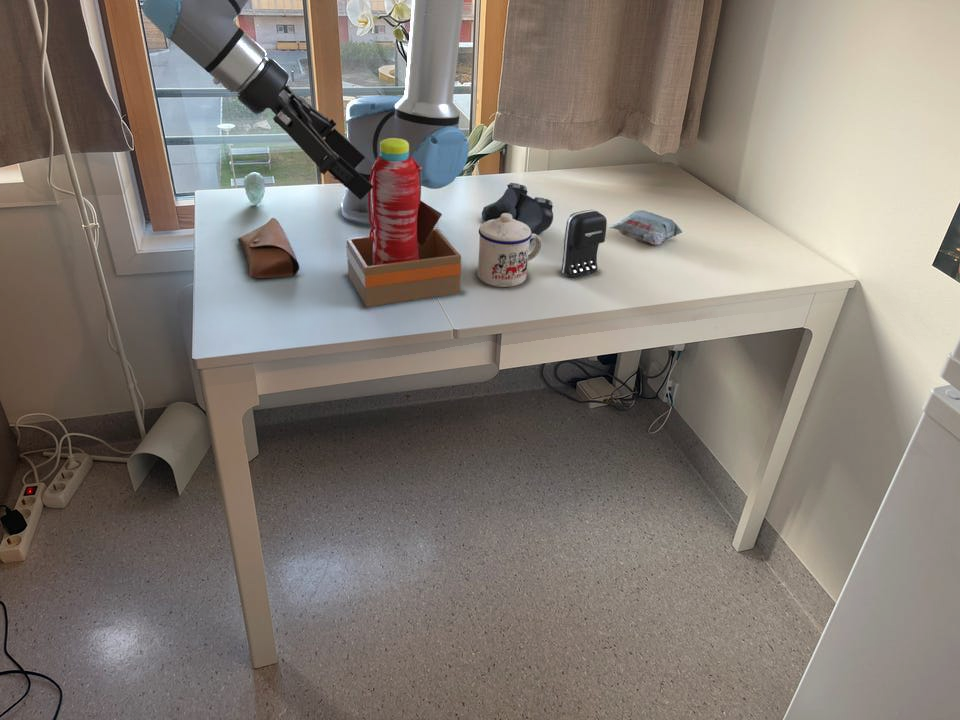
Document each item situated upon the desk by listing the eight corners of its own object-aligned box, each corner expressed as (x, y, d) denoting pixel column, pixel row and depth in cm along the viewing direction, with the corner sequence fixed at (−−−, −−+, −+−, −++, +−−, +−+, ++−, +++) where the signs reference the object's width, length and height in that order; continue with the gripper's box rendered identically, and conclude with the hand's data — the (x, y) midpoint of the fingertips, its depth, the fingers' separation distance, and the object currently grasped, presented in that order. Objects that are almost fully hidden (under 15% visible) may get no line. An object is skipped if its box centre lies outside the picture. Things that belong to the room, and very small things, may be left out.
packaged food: (659, 254, 144) (664, 230, 142) (607, 235, 151) (611, 212, 148) (680, 242, 150) (686, 218, 147) (630, 225, 156) (634, 202, 154)
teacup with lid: (491, 292, 127) (495, 228, 121) (467, 270, 134) (470, 208, 128) (550, 280, 132) (558, 218, 126) (525, 259, 139) (530, 200, 133)
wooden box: (347, 276, 130) (345, 238, 126) (436, 264, 136) (437, 228, 132) (365, 307, 121) (364, 268, 117) (459, 293, 126) (461, 256, 123)
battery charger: (571, 281, 133) (579, 220, 126) (559, 272, 135) (566, 212, 129) (602, 274, 136) (611, 214, 130) (589, 265, 138) (598, 207, 132)
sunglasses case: (234, 237, 140) (249, 206, 138) (269, 250, 144) (284, 220, 142) (250, 279, 126) (267, 245, 124) (288, 292, 130) (305, 260, 128)
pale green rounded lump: (243, 198, 157) (239, 167, 154) (263, 196, 159) (259, 165, 155) (250, 212, 151) (246, 180, 147) (270, 210, 153) (267, 178, 149)
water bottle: (423, 268, 134) (425, 127, 120) (445, 287, 128) (449, 141, 115) (361, 281, 128) (355, 135, 115) (381, 302, 123) (377, 151, 109)
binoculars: (544, 256, 147) (569, 210, 144) (520, 247, 142) (545, 199, 140) (499, 226, 158) (521, 183, 156) (476, 217, 154) (498, 172, 151)
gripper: (238, 75, 116) (341, 167, 128) (229, 119, 96) (352, 225, 107) (270, 39, 115) (371, 136, 126) (267, 76, 94) (388, 188, 105)
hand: (362, 177), depth 117 cm, fingers open, 13 cm apart
